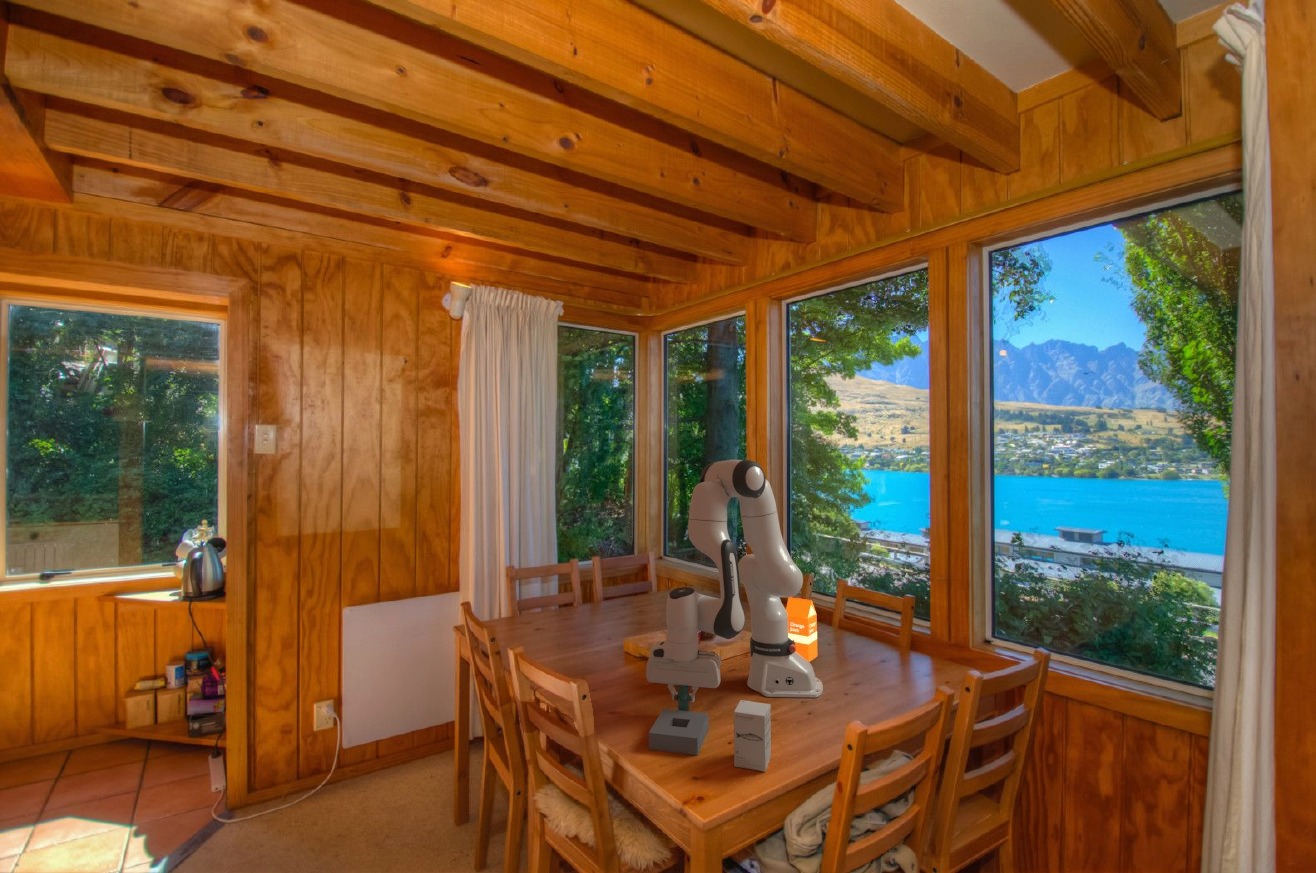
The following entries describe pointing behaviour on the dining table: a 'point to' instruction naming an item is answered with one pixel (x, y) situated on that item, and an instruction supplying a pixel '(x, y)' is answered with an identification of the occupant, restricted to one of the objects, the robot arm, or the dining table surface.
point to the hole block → (679, 731)
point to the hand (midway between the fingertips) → (683, 700)
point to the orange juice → (802, 627)
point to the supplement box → (752, 735)
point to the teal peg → (683, 698)
